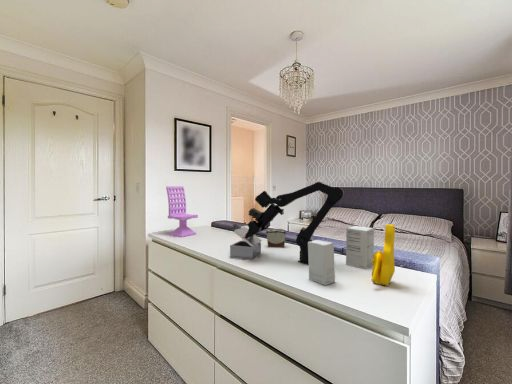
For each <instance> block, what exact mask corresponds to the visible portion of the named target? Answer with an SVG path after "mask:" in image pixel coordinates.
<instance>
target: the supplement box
mask: <svg viewBox="0 0 512 384" xmlns="http://www.w3.org/2000/svg"><path fill="white" fill-rule="evenodd" d="M345 229H346V232H345V233H346V236H345V239H346V240H345V249H346V251H345V264H346V265H347V266H350V267H355V268H359V269H363V270H367V269H369V268H370V267H373V263H372V258H374V254H375V251H374V248H375V244H374V243H375V227H368V226H360V225H354V226H350V227H346V228H345Z"/></svg>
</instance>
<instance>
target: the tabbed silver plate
mask: <svg viewBox="0 0 512 384" xmlns="http://www.w3.org/2000/svg"><path fill="white" fill-rule="evenodd" d="M232 227H234V229H235V230H234V231H233V233H235V234H236V235H237V236H239V238H240V239H241V240H242V239H243V240H244V241H246V242H247V243H248V244H249V245H250V246H252V247H253V246H255V245H256V244H258V243H260V242H261V243H262V239H261V238H260V237H258V236H257V234H255V235H253V236H251V237H249V238H245V236H246V234H247V232H248V229H247V228H246V227H242V226H240V225H239V224H238V223H234V224H232Z"/></svg>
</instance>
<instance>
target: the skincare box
mask: <svg viewBox="0 0 512 384" xmlns="http://www.w3.org/2000/svg"><path fill="white" fill-rule="evenodd" d="M334 245H335V243H334V242H331V241H327V240H326V241H325V240H320V239H315V240H312V241H310V242H308V261H309V265H308V279H309V280H310V281H313V282H315V283H318V284H321V285H324V286H327V285H331V284H333V283H335V282H336V275H335V273H336V271H335V268H336V267H335V247H334Z"/></svg>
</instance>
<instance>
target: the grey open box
mask: <svg viewBox="0 0 512 384" xmlns="http://www.w3.org/2000/svg"><path fill="white" fill-rule="evenodd" d="M229 249H230V250H229V251H230V252H229V258H230V259H239V260H249V261H254V260H255V259H256V258H257V257H259V256H260V255H262V241H261V242H260V243H258V244H256V245H255V246H253V247H252V246H250V245H249V244H248V243H247V242H246V241H242V240H239V241H237V242H234V243H232V244H230V245H229Z"/></svg>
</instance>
